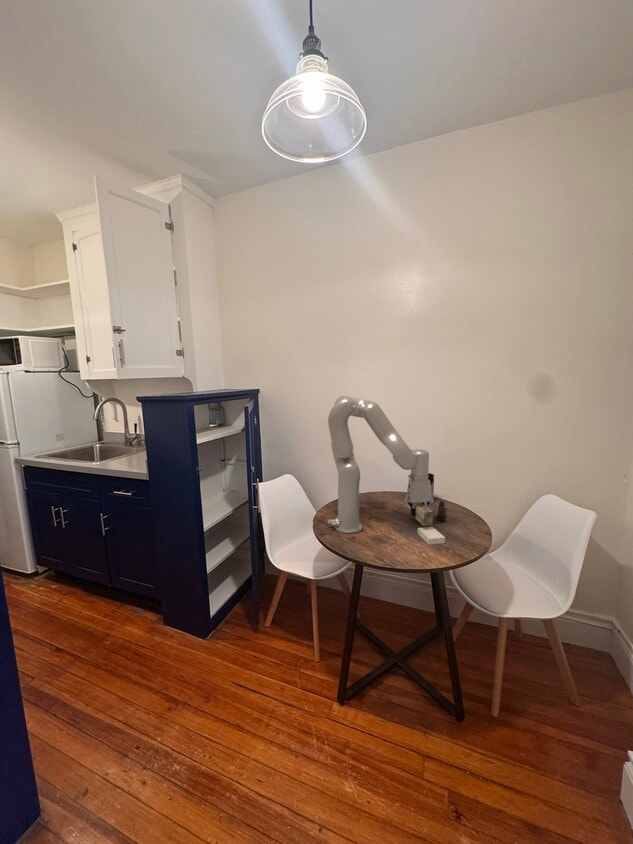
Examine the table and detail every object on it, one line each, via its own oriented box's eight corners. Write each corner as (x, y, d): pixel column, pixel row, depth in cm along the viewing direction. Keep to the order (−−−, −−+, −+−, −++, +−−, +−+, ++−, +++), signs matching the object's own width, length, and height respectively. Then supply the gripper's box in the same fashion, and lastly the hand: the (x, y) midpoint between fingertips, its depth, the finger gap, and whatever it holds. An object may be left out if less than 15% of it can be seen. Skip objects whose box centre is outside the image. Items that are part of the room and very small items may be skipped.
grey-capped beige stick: (423, 525, 139) (423, 512, 138) (405, 509, 156) (405, 497, 156) (432, 525, 139) (432, 511, 139) (413, 508, 157) (413, 496, 156)
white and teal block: (417, 534, 141) (429, 545, 132) (417, 527, 141) (429, 538, 131) (432, 532, 143) (444, 543, 133) (432, 526, 142) (445, 537, 132)
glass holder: (436, 503, 174) (437, 477, 173) (409, 503, 176) (410, 476, 174) (431, 498, 183) (432, 472, 181) (406, 497, 184) (406, 472, 182)
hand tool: (444, 523, 151) (445, 514, 151) (435, 522, 153) (436, 512, 152) (447, 509, 168) (447, 500, 168) (439, 507, 170) (439, 499, 169)
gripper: (405, 480, 141) (404, 520, 143) (441, 478, 143) (439, 517, 145) (398, 475, 148) (397, 513, 150) (432, 473, 150) (430, 510, 153)
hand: (418, 515), depth 148 cm, fingers closed on grey-capped beige stick, 4 cm apart
